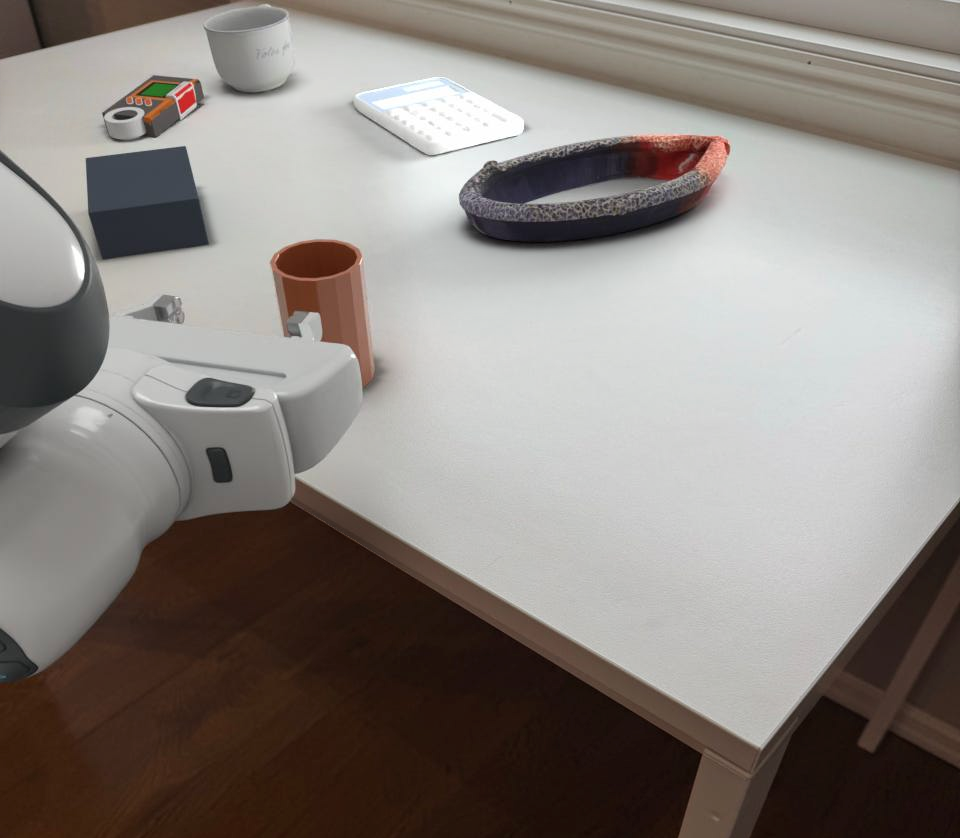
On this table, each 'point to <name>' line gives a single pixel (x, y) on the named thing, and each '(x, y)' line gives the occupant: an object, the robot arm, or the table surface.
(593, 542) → the table surface
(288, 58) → the teacup
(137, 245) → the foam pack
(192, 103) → the electronic device
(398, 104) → the calculator
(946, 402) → the table surface
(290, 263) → the terracotta cup
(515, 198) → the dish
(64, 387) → the robot arm
